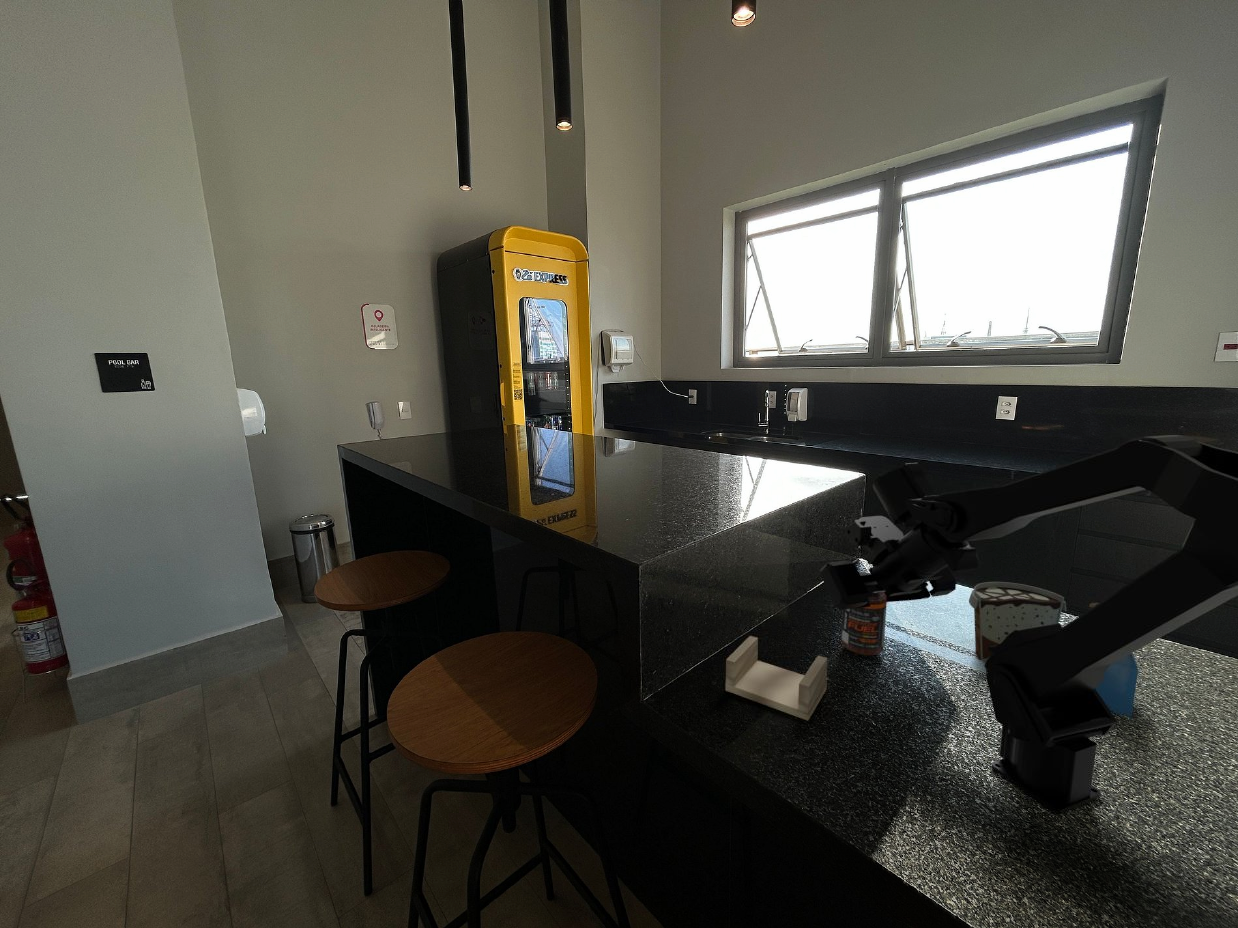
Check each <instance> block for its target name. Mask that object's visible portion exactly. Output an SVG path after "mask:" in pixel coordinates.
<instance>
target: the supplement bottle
mask: <svg viewBox="0 0 1238 928" xmlns="http://www.w3.org/2000/svg"><path fill="white" fill-rule="evenodd" d="M858 572H859V574H860V576H863V575H871V574H870V572H865V571H863V572H862V571H858ZM887 603H888V602H887V597H886V594H885V593H884V592H876V593H873V595H872V597H871V598H869V604H870V607H863V608H857V609H845V610H842V615H841V617H842V618H841V631H840V633H841V634H840V635H841V636H840V638H841V639H840V641H841V644H842V645H843V647H845V649H847V650H849V651H851V653H852V652H853V653H855V654H858V655H864V656H874V655H879V654H881V653H882V652H884V651H883V650H884V648H885V647H884V646H885V634H886V618H887Z"/></svg>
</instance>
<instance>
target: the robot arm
mask: <svg viewBox="0 0 1238 928" xmlns="http://www.w3.org/2000/svg"><path fill="white" fill-rule="evenodd" d="M872 488H873V490H874V491H875V492H874V493H876V495H877V497H878V498H879V500H880V502H881V503H882V506H883V507H884V509H885V510H886V512H887V514H888V517H889V518H890V519H891V520H890V519H889V518H887V517H886V516H883V515H874V516H864V517H859V519H853V522H852V523H849V524H848V525H847V528H846V531H845V535H846V538H847V539H849V541H850V542H851V543H852V545H854V546H855V547H859V546H860V547H862V548H863V550H865V551H866V552H868V553H867V554H865V556H864V558H865V560H866V562H867V564H868V565H869V566H870V565H871V566H872V567H869V568H868V571H869V572H868V573H870V574H871V575H863V576H860V574H859V572H860V571H859V569H858V568H857V566H856V564H855V562H853V561H851V560H840V561H839V560H838V561H832V562H831V561H829V562H827V563H826V564H824V565H823V567H821V569H820V571H819V575H820V577H821V579H822V581H823V583H824V585H825V588H826V589H827V592H828V594H829V597H830V599H831V601H832V604H833V606H834V607H835V608H836V609H838V610H839V611H843V610H845V609H857V608H863V607H870V604H869V598H871V597H872V595H873V593H876V592H884V593H885V594H886V597H887V603H893V602H907V601H918V600H922V599H924V600H925V599H929V598H930V597H932V598H933V597H935V598H936V597H941V596H947V595H949V594H950V593H953V592H955V590H957V589H956V587H957V580H956V578H955V576H954V575H953V572H954V573H958V572H967V571H974V570H978V569H980V560H979V558H978V549H977V548H975V547H971V545H970V543H969V542H971V541H972V542H973V541H981V540H988V539H989V540H990V539H997V538H998V539H999V538H1002V537H1005V536H1007V535H1009V534H1012V533H1014V532H1015V531H1016V532H1017V531H1018V530H1021V529H1023V528H1025V527H1026V526H1027V525H1029V524H1030V523H1031V522H1032V521H1034V520H1035V519H1038V518H1040V517H1042V516H1045V515H1049V514H1054V513H1057V512H1061V511H1065V510H1069V509H1073V508H1076V507H1078V508H1079V507H1081V506H1085V505H1086V506H1087V505H1088V504H1089V505H1090V504H1093V503H1097V502H1101V501H1105V500H1109V499H1112V498H1116V497H1121V496H1125V495H1128V494H1132V493H1136V492H1141V491H1145V490H1147V491H1149V492H1151V493H1153V494H1154V495H1155V496H1157V497H1158V498H1160V499H1161V500H1162V501H1164V502H1165V503H1166V504H1168V505H1169V506H1170V507H1173V509H1175V510H1177V512H1179V513H1181V514H1184V515H1186V516H1188V517H1190V518H1192V519H1194V520H1193V522H1192V524H1191V526H1190V528H1189V531H1188V533H1187V535H1186V537H1185V538H1184V539H1185V540H1184V542H1183V544H1182V545H1181V547H1180V548H1179V549H1178V550H1177V551H1176V552H1174V553H1173V554H1171V555H1170V556H1168V557H1167V558H1165V559H1164V560H1162V561H1161V562H1159V563H1157V564H1155V565H1154V566H1152V567H1151V568H1150V569H1149V570H1147V571H1145V572H1144V573H1143V574H1141V575H1140V576H1138V577H1137V578H1135V579H1134V580H1132V581H1131V582H1129V583H1127V584H1126V585H1125V586H1123V587H1122V588H1120V589H1118V590H1117V591H1115V592H1114V593H1112V594H1111V595H1110V596H1108V597H1106V598H1105V599H1103V600H1102V601H1100V602H1098V603H1099V604H1097V605H1096V606H1094V607H1093V608H1091V609H1090V608H1089V609H1088V610H1087V611H1086V612H1084V613H1082V614H1081V615H1079V616H1078V617H1076V618H1074V619H1073V620H1071V621H1070V622H1068V623H1067V624H1066V625H1065V626H1064V625H1063V626H1062V625H1061V624H1060V622H1059V623H1055V624H1049V625H1043V626H1037V627H1031V628H1025V629H1019V630H1014V631H1013V632H1012V633H1010V634H1009V635H1008V636H1007V637H1006V638H1005V639H1004V641H1003V642H1002V643H1001V644H999V645H997V646H992V647H988V650H989V651H991V652H992V653H993V654H991V655H990V656H989V657H988V658H987V659H986V661H985V660H984V664H983V667H984V669H985V673H986V674H985V677H986V683H987V687H988V692H989V697H990V700H991V705H992V709H993V713H994V718H995V720H996V722H997V723H999V724H1000V725H1001V735H1000V742H999V743H1000V746H999V757H1001V759H999V760H996V761H994V762H992V763H991V769H992V770H993V771H994V772H996V774H997V773H998V774H999V775H1000V776H1002V777H1003V778H1005V780H1007V781H1009V782H1010V783H1012V784H1013V785H1014V786H1016V787H1018V788H1019V789H1020V790H1021V791H1023V792H1024V793H1026V794H1027V795H1029V796H1030V797H1031V798H1033V799H1034V800H1036V801H1037V802H1039V803H1040V804H1041V805H1043V807H1046V808H1047V809H1049V810H1050V811H1051V812H1054V813H1056V814H1063V813H1066V812H1068V811H1071V810H1073V809H1075V808H1079V807H1080V806H1084V805H1086V804H1089V803H1091V802H1094V801H1096V800H1099V799H1100V798H1101V796H1102V792H1101V791H1100V790H1099V789H1098V788H1096V787H1095V786H1094V785H1093V784H1092V783H1093V776H1094V769H1095V761H1096V753H1097V747H1098V744H1097V742H1096V741H1094V740H1092V739H1090V738H1092V737H1093V738H1094V737H1097V736H1100V735H1101V736H1107V735H1109V734H1110V733H1111V731H1112V730H1113V729H1114V728H1115V726H1116V725H1117V724H1118V721H1117V718H1116V717H1115V715H1114V714H1113V711H1110V709H1109V708H1108V707H1107V705H1106V704H1105V702H1104V701H1103V699H1102V698H1101V696H1100V695H1099V694H1098V692H1097V691H1096V689H1095V688H1096V687H1097V686H1098V685H1099V684H1100V683H1101V682H1102V681H1103V678H1104V675H1105V673H1106V670H1107V668H1108V667H1109V666H1110V665H1111V664H1113V663H1114V662H1116V661H1118V660H1120V659H1122V658H1124V657H1125V656H1127V655H1129V654H1131V653H1133V654H1134V653H1135V652H1137V651H1138V650H1140V649H1142V648H1143V647H1145V646H1148V645H1149V644H1152V643H1153V642H1154V641H1156V640H1158V639H1160V638H1162V637H1163V636H1164V637H1165V635H1168V634H1169V633H1171V632H1173V631H1175V630H1177V629H1179V628H1180V627H1182V626H1183V625H1186V624H1188V623H1189V622H1191V621H1193V620H1195V619H1197V618H1198V617H1201V616H1203V615H1204V614H1206V613H1207V612H1210V611H1212V610H1213V609H1215V608H1217V607H1219V606H1220V605H1222V604H1225V603H1226V602H1228V601H1230V600H1231V599H1234V598H1236V597H1238V451H1235V450H1231V449H1227V448H1221V447H1219V446H1215V445H1211V444H1208V443H1205V442H1202V441H1199V440H1196V439H1193V438H1191V437H1188V436H1186V435H1177V434H1176V435H1175V434H1169V435H1166V434H1165V435H1155V436H1154V435H1153V436H1141V437H1135V438H1131V439H1129V440H1127V441H1125V442H1124V443H1123V444H1121V445H1118V446H1117V447H1114V448H1111V449H1108V450H1105V451H1102V452H1098V453H1095V454H1093V455H1089V456H1087V457H1084V458H1081V459H1078V460H1075V461H1073V462H1069V463H1065V464H1063V465H1060V466H1057V467H1053V468H1052V469H1051V468H1050V469H1048V470H1044V471H1041V472H1039V473H1036V474H1032V475H1029V476H1026V477H1024V478H1021V479H1018V480H1015V481H1012V482H1008V483H1005V484H1002V485H995V486H986V487H985V486H984V487H976V488H970V489H961V490H954V491H953V490H952V491H947V492H946V491H945V492H942V493H940V494H937V492H936V490H935V489H934V487H933V486H932V484H931V483H930V481H929V479H928V478H927V476H926V475H925V473H924V470H923V468H922V466H921V465H920V464H919V462H908V463H906V462H905V463H904V464H902V465H901V467H899V468H896V469H893V470H891V471H889V472H886V473H885V474H883V475H881V476H878V477H877V478H875V480H874V482H873V484H872ZM898 524H899V525H901V524H902V525H904V526H905V527H906V528H912V527H913V528H912V529H911V530H909V532H908V533H906V534H905V535H904V533H903V531H901V529H900V528H898V527H897V526H896V525H898ZM928 582H929V583H928ZM929 584H930V586H931V588H932V589H931V590H929V589H928V586H929Z"/></svg>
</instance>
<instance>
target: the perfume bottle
mask: <svg viewBox="0 0 1238 928" xmlns="http://www.w3.org/2000/svg"><path fill="white" fill-rule="evenodd" d="M1099 603H1100V602H1092V603H1089V610H1090V609H1091V608H1093V607H1094V606H1096V605H1097V604H1099ZM1138 674H1139V668H1138V665H1137V661H1136V658H1135V656H1134V652H1133V653H1131V654H1129V655H1127V656H1125V657H1124V658H1122V659H1120V660H1118V661H1116V662H1114V663H1113V664H1111V665H1110V666H1109V667H1108V668H1107V670H1106V673H1105V675H1104V678H1103V681H1102V682H1101V683H1100V684H1099V685H1098V686H1097V687H1096V688H1095V689H1096V691H1097V692H1098V694H1099V695H1100V696H1101V698H1102V699H1103V701H1104V702H1105V704H1106V705H1107V707H1108V708H1109V709H1110V711H1111V712H1112V713H1113V712H1114V713H1117V714H1120V713H1121V715H1124V716H1128V717H1132V716H1133V709H1134V701H1135V696H1136V695H1135V694H1136V689H1137V683H1138V682H1137V680H1138Z"/></svg>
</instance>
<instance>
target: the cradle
mask: <svg viewBox="0 0 1238 928" xmlns="http://www.w3.org/2000/svg"><path fill="white" fill-rule="evenodd" d="M758 641H759V638H758V637H756V636H752V635H749V636H748V637H747V638H746V639H745V640H744V641H743V642H742V643H741V644H740V645H739V646H738V647H737V648H736V649H735V650H734V652H732V653H731V654H730V655H729V656H728V657H727V658H726V659H725V660H726V661H725V691H726V692H728V693H732V694H735V695H737V696H740V697H742V698H745V699H747V700H751V701H753V702H756V703H759V704H761V705H764V706H767V707H769V708H772V709H775V710H778V711H781V712H783V713H786V714H788V715H792V716H794V717H797V718H799V719H802V720H805V721H809V720H810V719H811V716H812V715H813V713H814V712H815V709H816V708H817V707H818V704H819V702H820V701H821V699H822V698H823V696H824V694H825V693H826V690H827V686H828V685H827V684H828V683H827V676H828V675H827V674H828V673H827V672H828V658H827V657H825V656H821V655H817V656H816V658H815V660H814V661H813V662H812V664H811V665H810V667H809V668H808V670H807V671H806V673H805V674H800V673H798V672H795V671H792V670H788V669H785V668H783V667H780V666H776V665H773V664H769V663H767V662H763V661H761V660H758V653H759V652H758V651H759V649H758V646H759V645H758V644H759V642H758Z"/></svg>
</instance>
